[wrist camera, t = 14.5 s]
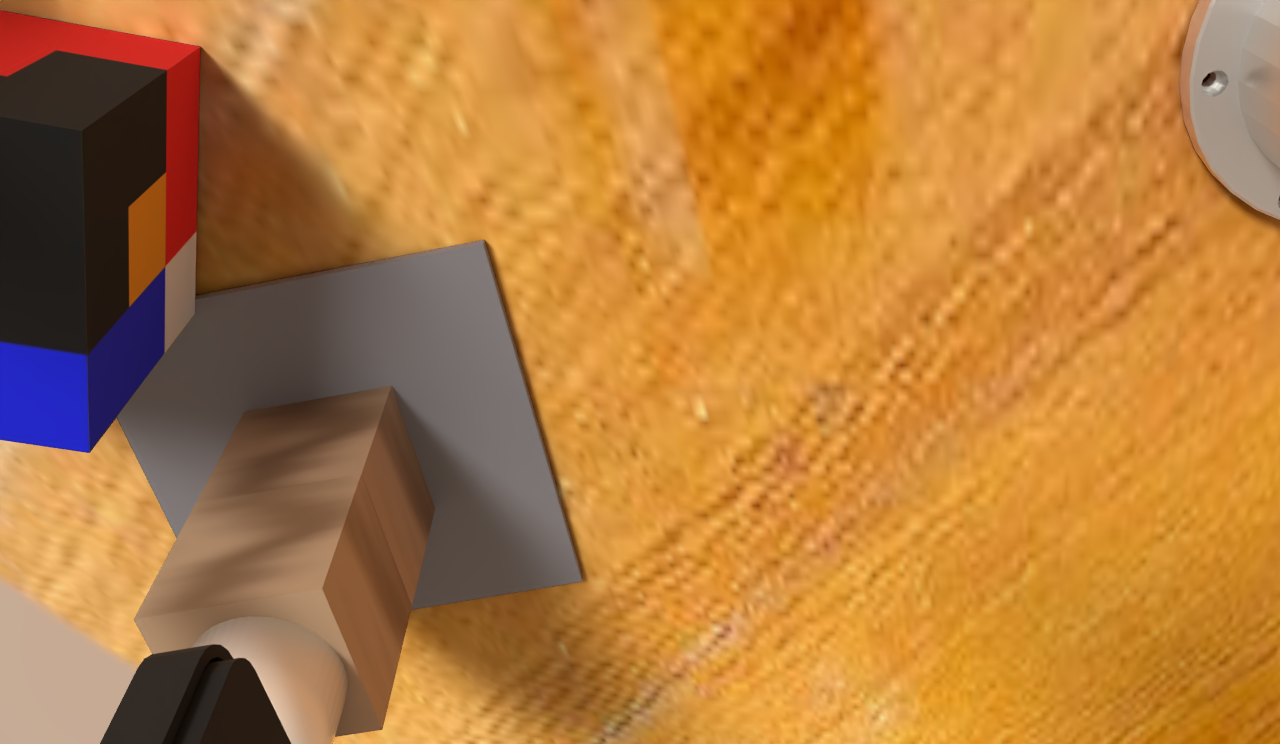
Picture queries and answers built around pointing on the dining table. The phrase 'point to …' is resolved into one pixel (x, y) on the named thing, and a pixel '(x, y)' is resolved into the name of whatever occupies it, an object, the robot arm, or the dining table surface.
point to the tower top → (290, 582)
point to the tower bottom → (336, 463)
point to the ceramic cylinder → (289, 672)
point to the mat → (367, 359)
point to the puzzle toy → (91, 221)
